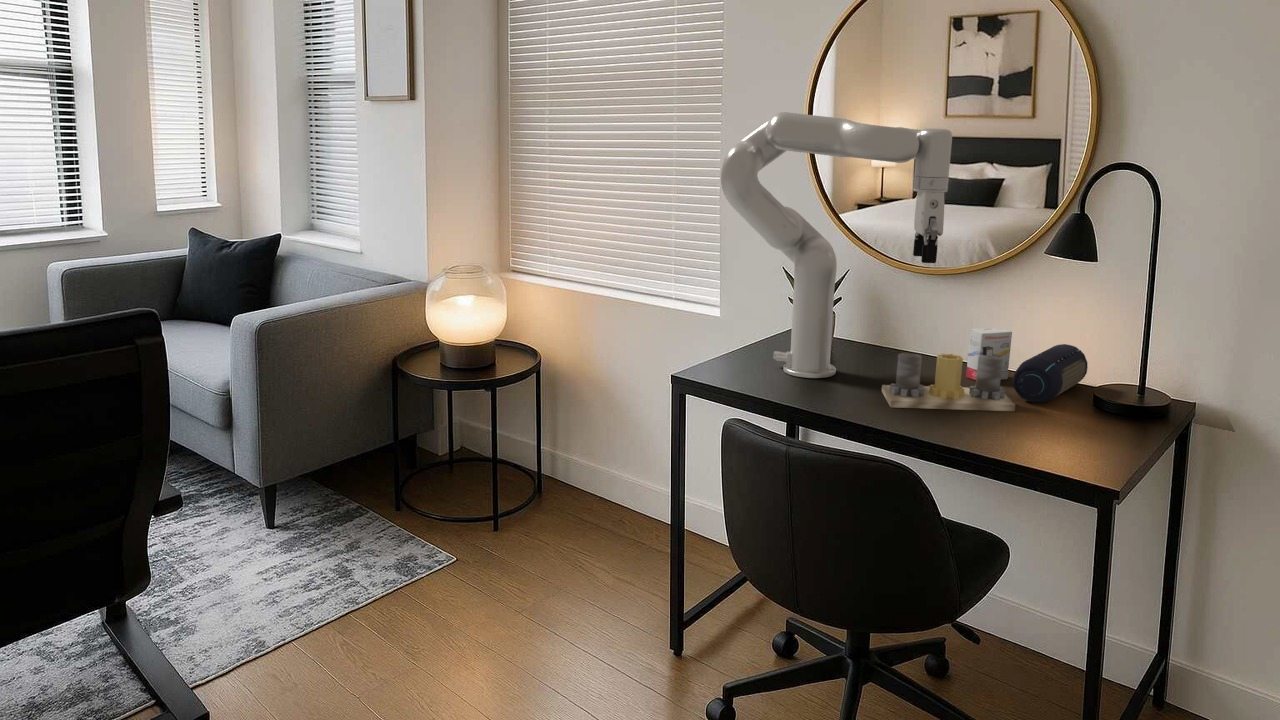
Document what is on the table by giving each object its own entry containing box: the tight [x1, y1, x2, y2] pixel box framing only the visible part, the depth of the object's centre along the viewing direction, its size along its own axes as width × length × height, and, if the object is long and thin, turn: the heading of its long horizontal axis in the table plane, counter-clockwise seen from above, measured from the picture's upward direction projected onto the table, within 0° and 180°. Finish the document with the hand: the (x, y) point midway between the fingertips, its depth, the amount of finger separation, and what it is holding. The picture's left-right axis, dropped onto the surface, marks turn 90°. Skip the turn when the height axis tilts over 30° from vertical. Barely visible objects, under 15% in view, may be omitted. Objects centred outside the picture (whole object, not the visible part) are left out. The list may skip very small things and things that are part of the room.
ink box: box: [965, 327, 1013, 381], centre depth 230 cm, size 9×5×12 cm, turn 107°
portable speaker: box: [1012, 343, 1088, 404], centre depth 219 cm, size 25×10×10 cm, turn 139°
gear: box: [929, 353, 965, 399], centre depth 212 cm, size 7×7×8 cm
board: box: [881, 352, 1016, 412], centre depth 212 cm, size 26×12×10 cm, turn 85°
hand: (924, 259), depth 225 cm, fingers open, 9 cm apart
